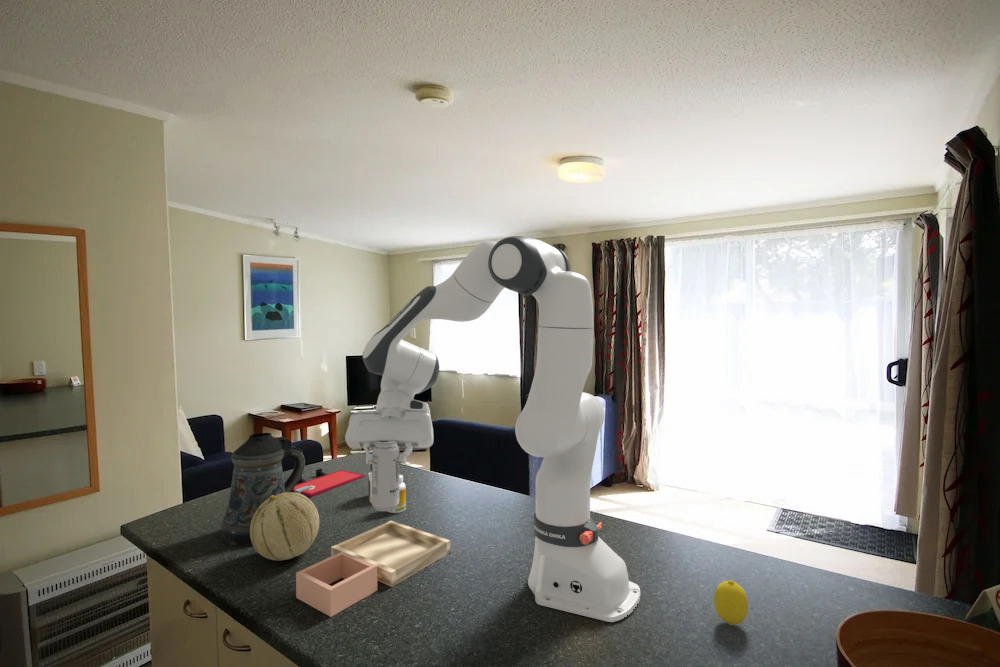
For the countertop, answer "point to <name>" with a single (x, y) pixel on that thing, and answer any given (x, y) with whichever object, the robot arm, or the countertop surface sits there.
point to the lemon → (731, 602)
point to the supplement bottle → (401, 497)
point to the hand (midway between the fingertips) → (385, 462)
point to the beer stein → (257, 481)
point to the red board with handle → (325, 482)
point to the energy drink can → (385, 475)
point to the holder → (343, 594)
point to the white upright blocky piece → (370, 484)
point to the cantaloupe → (284, 526)
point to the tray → (395, 550)
